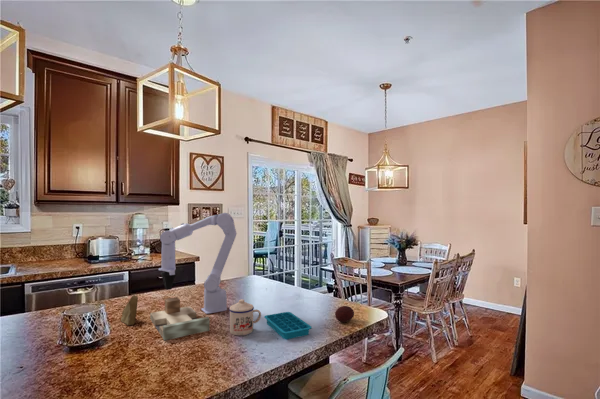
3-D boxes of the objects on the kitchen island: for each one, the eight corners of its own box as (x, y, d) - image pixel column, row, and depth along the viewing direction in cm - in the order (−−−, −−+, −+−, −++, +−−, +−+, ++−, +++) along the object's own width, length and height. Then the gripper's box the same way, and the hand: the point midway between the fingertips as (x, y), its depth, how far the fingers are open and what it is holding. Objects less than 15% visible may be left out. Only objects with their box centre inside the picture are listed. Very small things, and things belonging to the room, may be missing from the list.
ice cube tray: (283, 342, 111) (283, 333, 111) (263, 323, 129) (263, 315, 129) (313, 335, 116) (313, 327, 116) (289, 318, 134) (289, 311, 134)
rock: (140, 319, 126) (149, 308, 136) (125, 303, 124) (135, 293, 134) (118, 336, 125) (128, 324, 135) (102, 320, 124) (114, 309, 134)
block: (176, 308, 139) (177, 297, 139) (179, 311, 134) (180, 299, 135) (164, 310, 136) (164, 299, 136) (167, 314, 132) (167, 301, 132)
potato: (357, 320, 131) (357, 305, 131) (345, 326, 124) (345, 311, 124) (342, 316, 136) (342, 302, 136) (329, 322, 129) (329, 307, 129)
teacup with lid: (231, 337, 114) (231, 304, 114) (227, 328, 122) (227, 298, 123) (264, 332, 119) (264, 300, 119) (257, 324, 127) (257, 294, 127)
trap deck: (189, 311, 142) (189, 301, 142) (209, 330, 121) (209, 318, 121) (150, 319, 133) (150, 308, 133) (164, 340, 112) (164, 327, 112)
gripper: (155, 256, 145) (155, 286, 145) (162, 261, 133) (162, 293, 133) (171, 255, 149) (171, 284, 149) (179, 259, 138) (179, 291, 137)
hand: (168, 288), depth 141 cm, fingers closed
